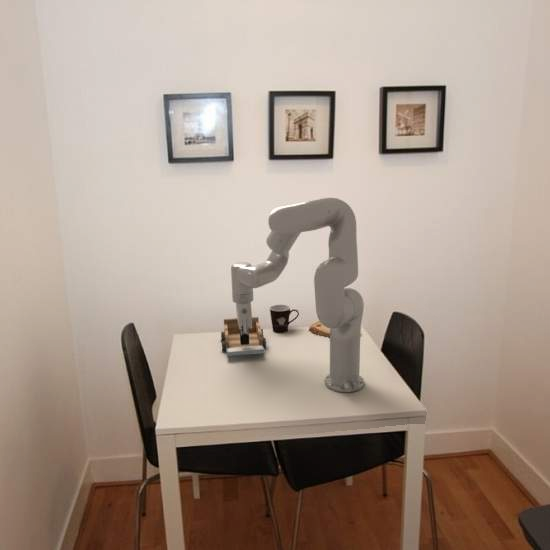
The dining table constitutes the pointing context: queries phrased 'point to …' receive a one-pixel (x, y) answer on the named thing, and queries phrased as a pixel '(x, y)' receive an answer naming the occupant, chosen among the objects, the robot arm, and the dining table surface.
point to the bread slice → (320, 329)
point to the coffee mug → (281, 318)
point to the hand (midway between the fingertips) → (244, 343)
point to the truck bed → (233, 334)
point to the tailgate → (245, 350)
